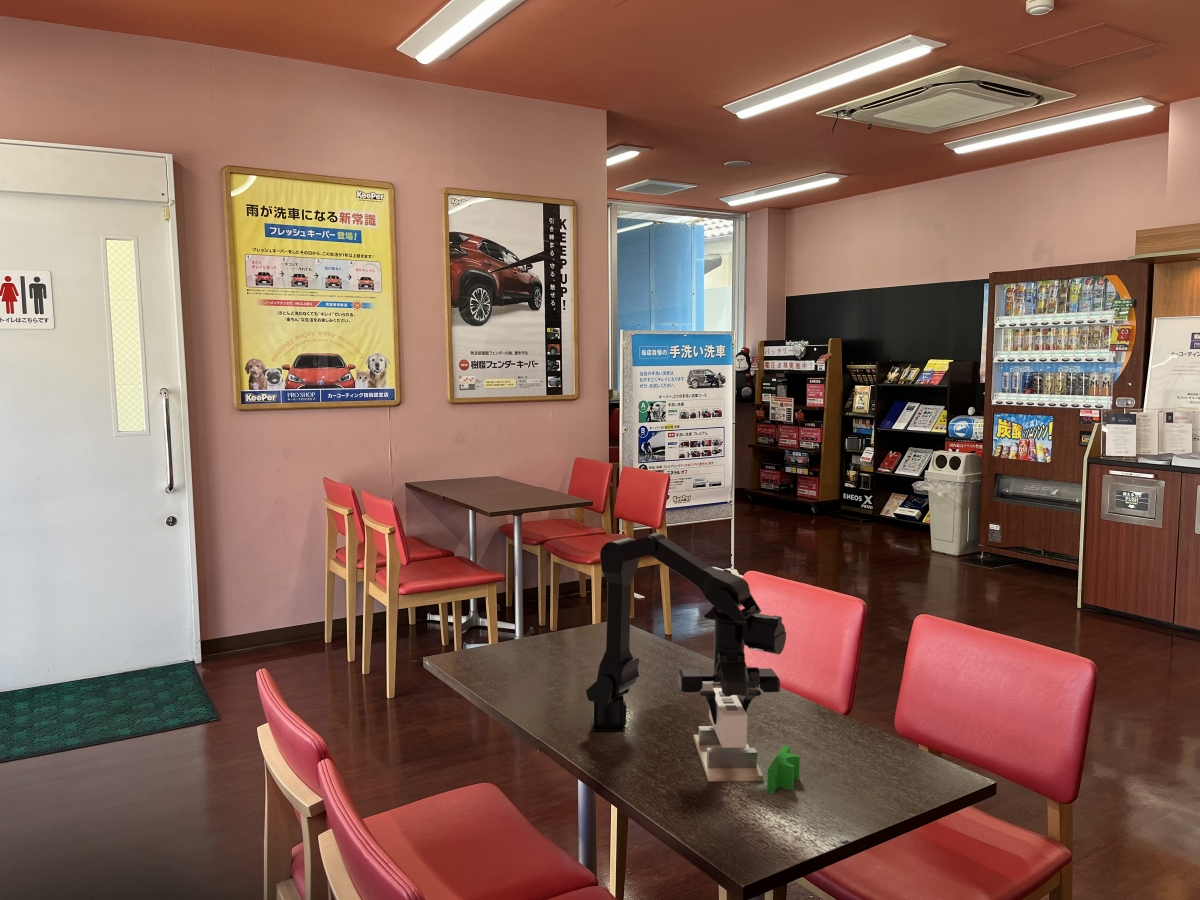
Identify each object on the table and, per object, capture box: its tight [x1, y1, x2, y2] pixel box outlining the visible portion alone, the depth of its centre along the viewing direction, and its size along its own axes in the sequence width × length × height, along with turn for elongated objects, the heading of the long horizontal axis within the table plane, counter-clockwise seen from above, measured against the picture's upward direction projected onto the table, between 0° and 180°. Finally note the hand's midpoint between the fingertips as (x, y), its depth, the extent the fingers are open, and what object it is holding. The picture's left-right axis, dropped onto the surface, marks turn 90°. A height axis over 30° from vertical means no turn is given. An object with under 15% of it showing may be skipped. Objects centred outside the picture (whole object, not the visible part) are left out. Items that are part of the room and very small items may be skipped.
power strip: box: [708, 687, 748, 748], centre depth 161 cm, size 4×14×6 cm, turn 2°
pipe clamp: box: [766, 744, 801, 795], centre depth 152 cm, size 11×4×5 cm, turn 153°
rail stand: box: [693, 725, 764, 782], centre depth 161 cm, size 10×18×4 cm, turn 2°
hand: (727, 723), depth 161 cm, fingers closed on power strip, 4 cm apart
